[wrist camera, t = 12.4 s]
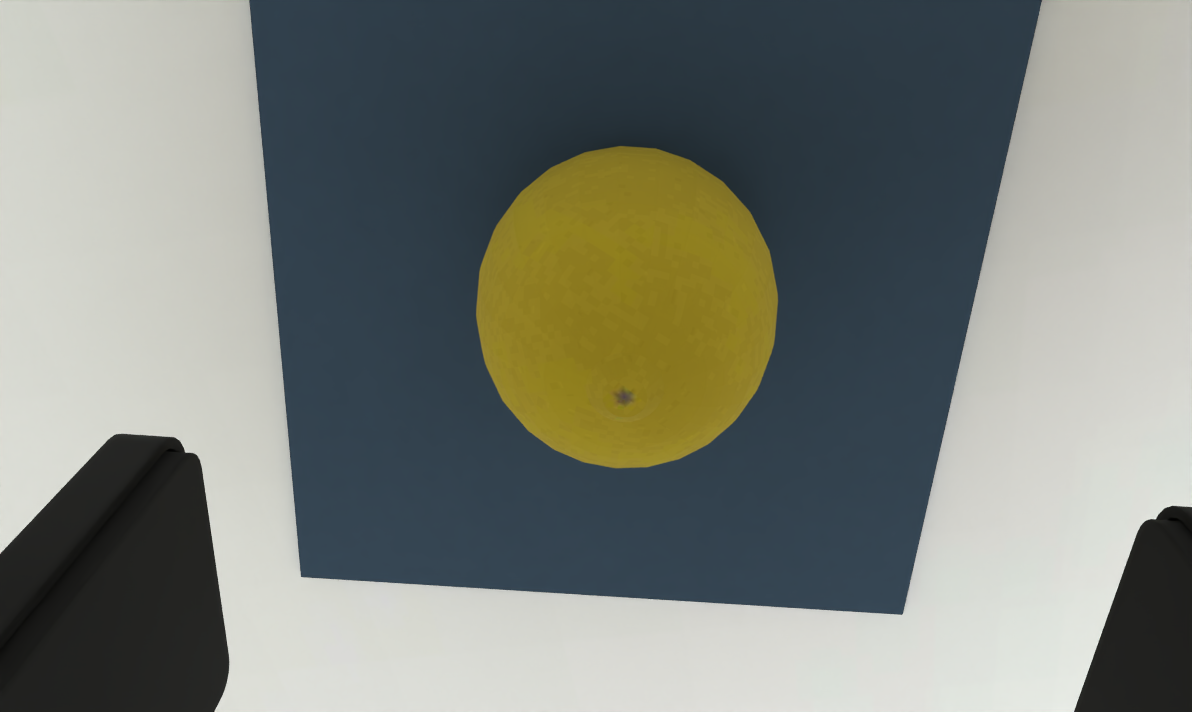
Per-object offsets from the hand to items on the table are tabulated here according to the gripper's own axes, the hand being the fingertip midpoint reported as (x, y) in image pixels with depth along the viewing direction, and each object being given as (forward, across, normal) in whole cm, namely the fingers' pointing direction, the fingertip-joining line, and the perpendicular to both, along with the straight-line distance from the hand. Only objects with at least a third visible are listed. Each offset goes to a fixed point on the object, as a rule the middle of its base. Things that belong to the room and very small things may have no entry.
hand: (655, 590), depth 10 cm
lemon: (+13, 0, +1) cm, 13 cm away
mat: (+13, 0, +1) cm, 13 cm away
